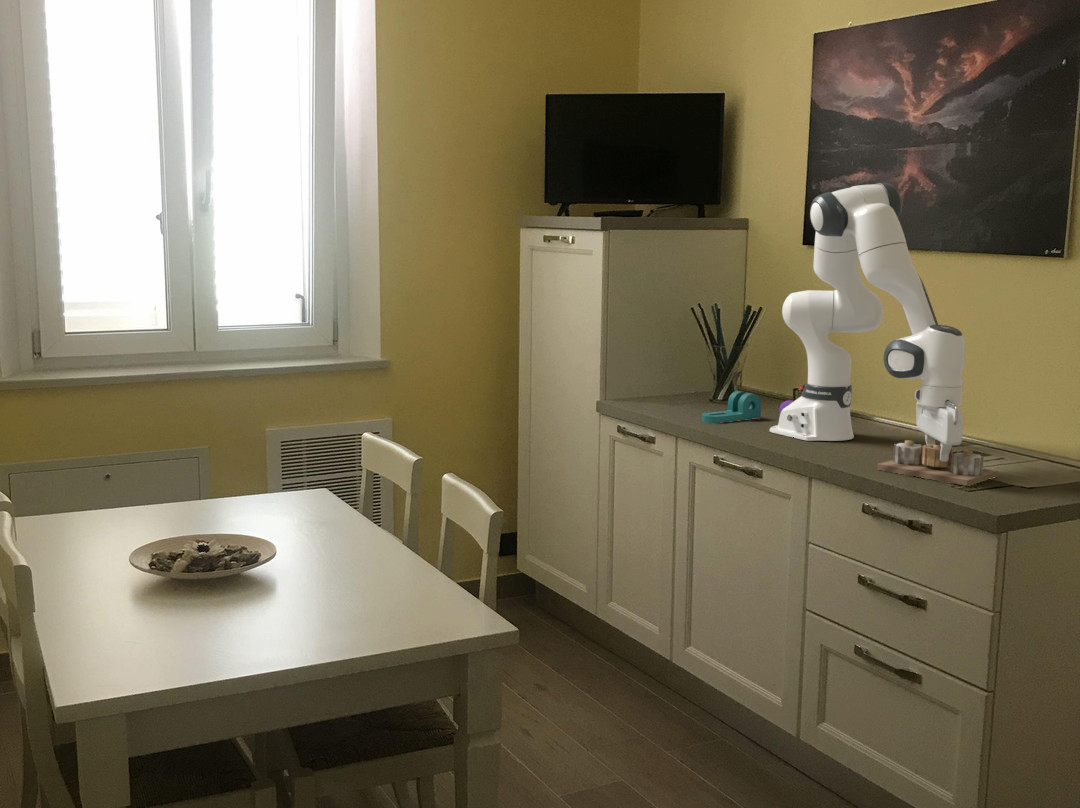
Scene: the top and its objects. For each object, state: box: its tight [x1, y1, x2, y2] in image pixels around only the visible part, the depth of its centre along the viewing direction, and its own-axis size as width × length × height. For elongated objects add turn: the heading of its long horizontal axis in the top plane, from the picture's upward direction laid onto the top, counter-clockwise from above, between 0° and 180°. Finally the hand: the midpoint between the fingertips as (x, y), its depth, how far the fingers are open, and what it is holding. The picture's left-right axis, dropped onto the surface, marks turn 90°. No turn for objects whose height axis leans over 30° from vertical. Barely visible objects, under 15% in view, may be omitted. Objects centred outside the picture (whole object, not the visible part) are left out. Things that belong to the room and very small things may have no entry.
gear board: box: [876, 439, 999, 485], centre depth 255 cm, size 22×14×6 cm, turn 42°
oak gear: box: [922, 444, 954, 467], centre depth 255 cm, size 7×7×4 cm
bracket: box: [701, 390, 762, 424], centre depth 323 cm, size 18×7×8 cm, turn 120°
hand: (936, 457), depth 255 cm, fingers closed on oak gear, 6 cm apart
